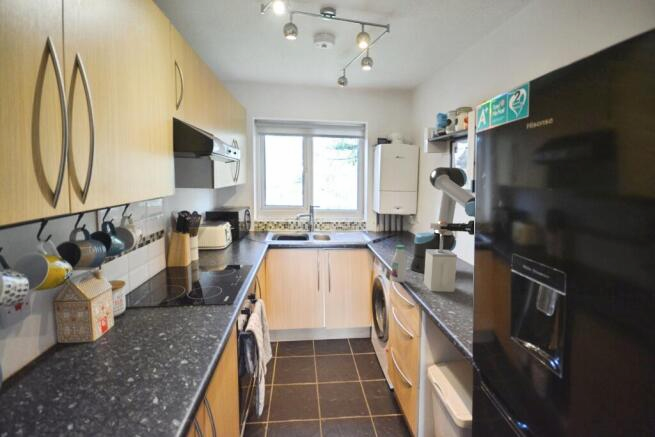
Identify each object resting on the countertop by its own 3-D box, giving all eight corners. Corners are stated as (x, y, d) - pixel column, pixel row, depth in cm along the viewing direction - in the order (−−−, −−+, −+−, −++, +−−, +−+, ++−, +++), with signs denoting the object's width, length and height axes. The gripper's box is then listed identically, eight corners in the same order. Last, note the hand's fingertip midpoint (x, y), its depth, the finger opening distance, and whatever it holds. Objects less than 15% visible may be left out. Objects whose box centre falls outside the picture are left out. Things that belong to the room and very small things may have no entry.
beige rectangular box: (423, 283, 176) (426, 249, 173) (445, 284, 175) (448, 249, 173) (432, 293, 160) (435, 255, 158) (456, 294, 160) (459, 256, 158)
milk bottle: (404, 279, 183) (406, 244, 181) (406, 283, 176) (408, 247, 173) (391, 278, 184) (392, 244, 182) (392, 282, 176) (394, 246, 174)
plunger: (431, 268, 172) (434, 220, 169) (443, 269, 172) (447, 221, 169) (435, 272, 165) (438, 222, 162) (448, 272, 165) (451, 222, 162)
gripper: (484, 237, 157) (437, 236, 158) (469, 232, 175) (426, 231, 175) (486, 222, 156) (438, 221, 157) (470, 218, 174) (427, 217, 174)
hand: (432, 226), depth 166 cm, fingers closed on plunger, 4 cm apart
